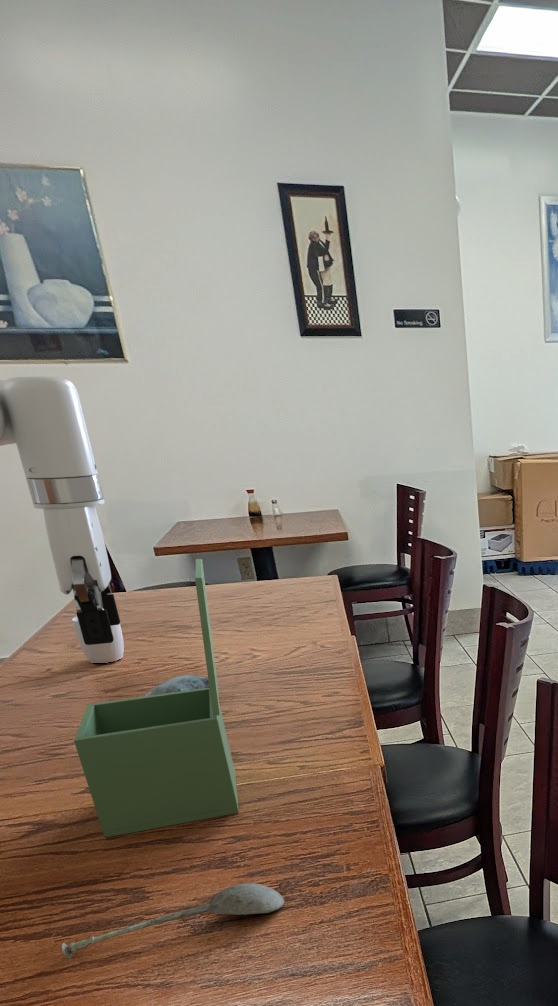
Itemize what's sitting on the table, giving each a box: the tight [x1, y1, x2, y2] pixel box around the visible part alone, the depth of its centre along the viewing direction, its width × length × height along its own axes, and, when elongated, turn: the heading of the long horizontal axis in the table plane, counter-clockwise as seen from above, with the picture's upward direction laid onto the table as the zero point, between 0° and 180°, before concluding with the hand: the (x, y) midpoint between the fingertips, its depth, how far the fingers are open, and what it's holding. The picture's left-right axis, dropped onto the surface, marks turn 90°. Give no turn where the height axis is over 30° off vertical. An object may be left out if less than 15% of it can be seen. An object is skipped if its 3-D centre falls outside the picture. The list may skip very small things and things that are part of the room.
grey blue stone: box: [144, 674, 209, 696], centre depth 155 cm, size 9×12×5 cm
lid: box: [194, 558, 220, 716], centre depth 110 cm, size 18×15×1 cm
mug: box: [71, 615, 125, 664], centre depth 184 cm, size 13×9×10 cm
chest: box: [73, 688, 240, 839], centre depth 114 cm, size 17×15×14 cm
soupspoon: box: [61, 882, 285, 960], centre depth 88 cm, size 22×3×7 cm
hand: (103, 634), depth 105 cm, fingers open, 9 cm apart
